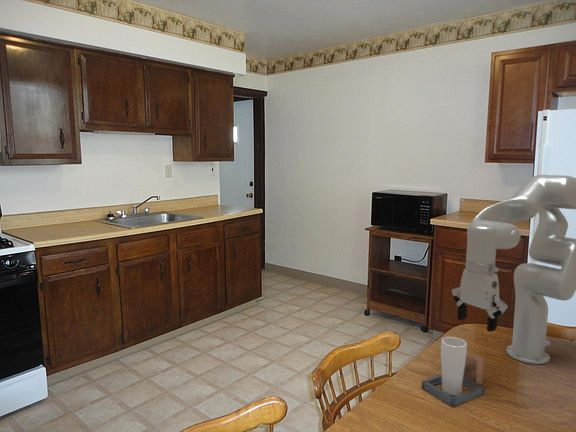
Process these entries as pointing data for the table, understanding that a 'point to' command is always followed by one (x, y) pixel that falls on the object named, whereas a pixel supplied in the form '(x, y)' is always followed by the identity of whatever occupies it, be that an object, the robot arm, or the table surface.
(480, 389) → the frame
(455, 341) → the drinking glass
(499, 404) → the table surface
